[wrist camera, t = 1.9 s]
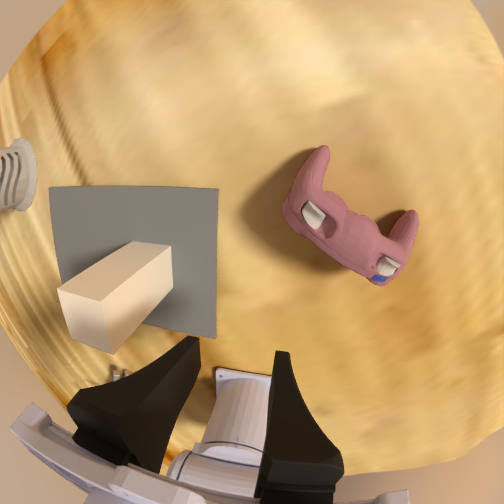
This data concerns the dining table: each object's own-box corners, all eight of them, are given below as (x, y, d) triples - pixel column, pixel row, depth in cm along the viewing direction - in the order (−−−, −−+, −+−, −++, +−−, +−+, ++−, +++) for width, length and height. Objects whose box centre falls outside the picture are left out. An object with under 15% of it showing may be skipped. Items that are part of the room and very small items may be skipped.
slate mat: (216, 336, 26) (215, 339, 26) (68, 299, 29) (66, 300, 28) (218, 188, 21) (217, 189, 21) (51, 187, 24) (48, 187, 23)
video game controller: (291, 180, 21) (261, 232, 17) (319, 135, 18) (297, 178, 13) (386, 244, 22) (383, 309, 17) (422, 211, 18) (432, 275, 14)
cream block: (173, 287, 24) (113, 354, 15) (136, 280, 25) (71, 338, 16) (171, 245, 23) (99, 301, 14) (132, 241, 23) (56, 288, 14)
